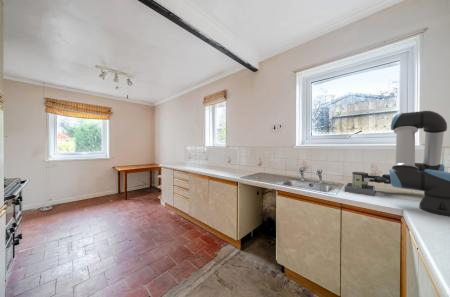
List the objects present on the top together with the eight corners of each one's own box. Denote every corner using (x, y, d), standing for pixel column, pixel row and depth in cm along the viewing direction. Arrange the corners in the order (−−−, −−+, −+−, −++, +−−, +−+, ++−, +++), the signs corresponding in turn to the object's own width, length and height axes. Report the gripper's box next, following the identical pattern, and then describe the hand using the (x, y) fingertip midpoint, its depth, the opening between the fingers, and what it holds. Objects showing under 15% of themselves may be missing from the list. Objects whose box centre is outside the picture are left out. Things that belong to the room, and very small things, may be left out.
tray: (374, 190, 137) (374, 185, 137) (373, 195, 124) (373, 190, 124) (347, 186, 150) (347, 182, 150) (344, 191, 137) (344, 186, 136)
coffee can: (366, 189, 139) (366, 172, 138) (369, 192, 130) (369, 174, 129) (351, 187, 144) (351, 171, 144) (353, 190, 135) (353, 173, 135)
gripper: (402, 187, 120) (368, 186, 125) (379, 180, 144) (351, 179, 149) (403, 177, 120) (368, 176, 125) (379, 171, 144) (351, 171, 149)
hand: (359, 178), depth 137 cm, fingers open, 13 cm apart
